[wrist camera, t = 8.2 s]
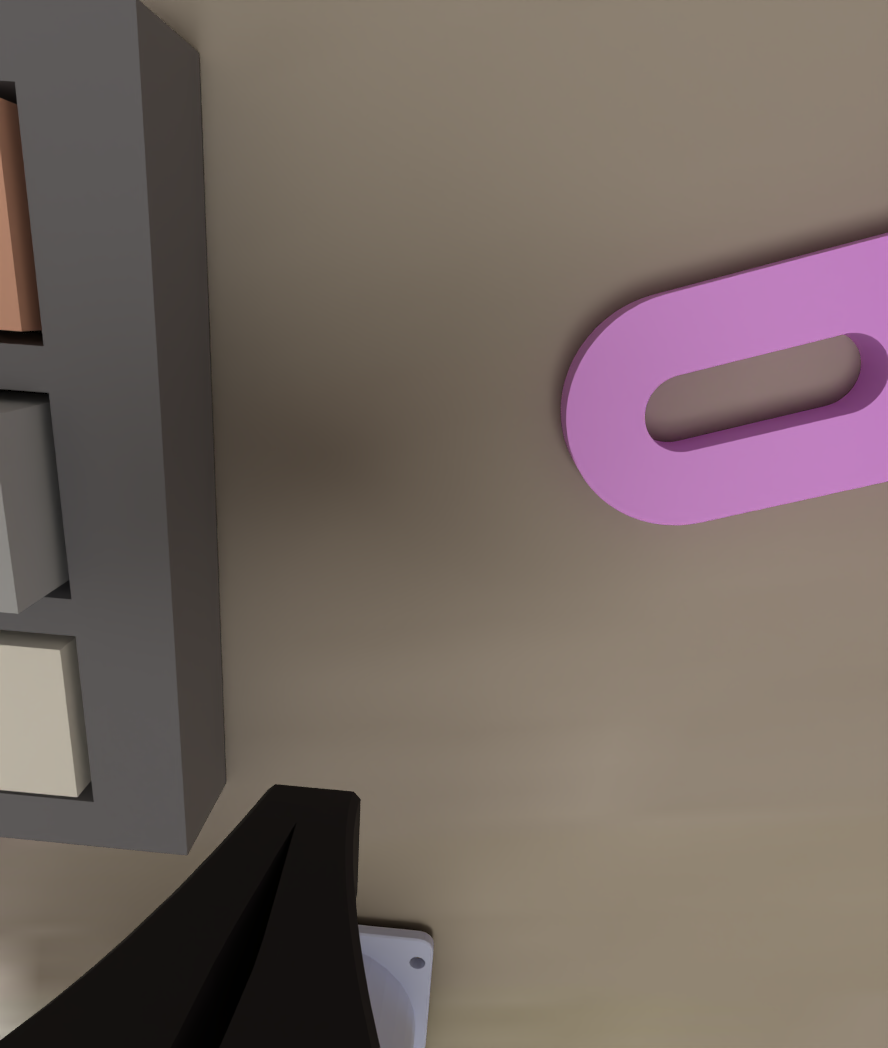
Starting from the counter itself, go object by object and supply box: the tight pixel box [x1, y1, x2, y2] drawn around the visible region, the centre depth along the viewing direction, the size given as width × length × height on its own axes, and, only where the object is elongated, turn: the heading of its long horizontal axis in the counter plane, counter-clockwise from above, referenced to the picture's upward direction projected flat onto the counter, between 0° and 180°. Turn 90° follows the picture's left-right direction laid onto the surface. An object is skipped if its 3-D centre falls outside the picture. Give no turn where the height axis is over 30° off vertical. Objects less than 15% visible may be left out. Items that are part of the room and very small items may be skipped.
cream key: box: [0, 630, 91, 797], centre depth 19 cm, size 4×4×3 cm
